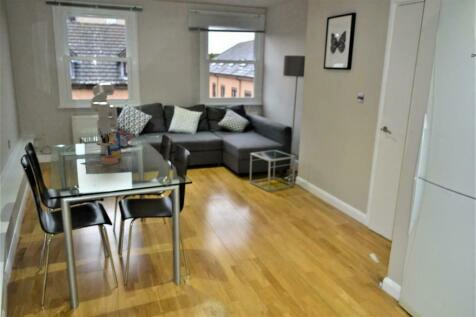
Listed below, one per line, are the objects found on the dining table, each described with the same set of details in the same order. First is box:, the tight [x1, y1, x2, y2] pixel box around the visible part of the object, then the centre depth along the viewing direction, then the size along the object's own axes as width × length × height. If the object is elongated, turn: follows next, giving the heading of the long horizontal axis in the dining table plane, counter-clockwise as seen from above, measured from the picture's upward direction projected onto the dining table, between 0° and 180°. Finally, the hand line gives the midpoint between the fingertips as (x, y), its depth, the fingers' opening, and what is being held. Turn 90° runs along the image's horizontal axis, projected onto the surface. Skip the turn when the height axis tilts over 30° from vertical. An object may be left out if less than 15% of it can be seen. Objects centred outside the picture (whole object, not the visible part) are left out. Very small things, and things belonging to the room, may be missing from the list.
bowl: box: [100, 155, 119, 165], centre depth 300 cm, size 12×12×5 cm
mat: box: [80, 159, 102, 167], centre depth 299 cm, size 13×13×1 cm
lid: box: [96, 136, 115, 146], centre depth 296 cm, size 14×14×6 cm
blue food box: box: [105, 131, 122, 159], centre depth 315 cm, size 7×11×22 cm, turn 121°
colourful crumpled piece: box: [117, 129, 135, 148], centre depth 367 cm, size 20×22×18 cm
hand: (105, 142), depth 296 cm, fingers closed on lid, 3 cm apart
